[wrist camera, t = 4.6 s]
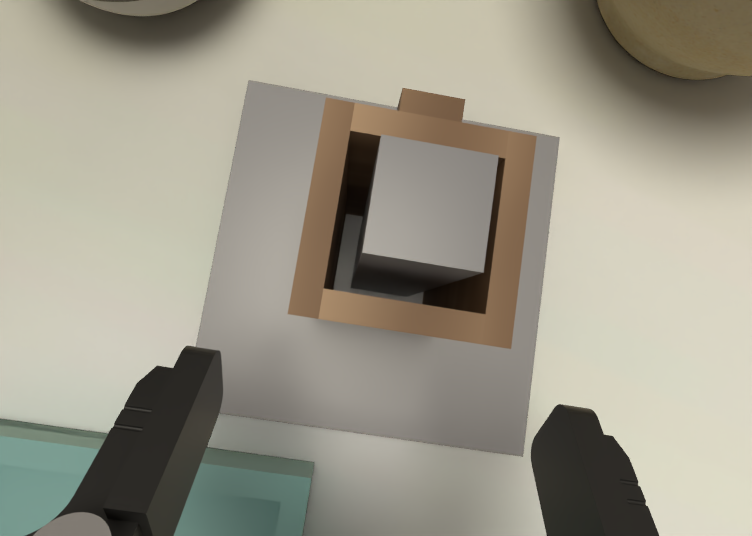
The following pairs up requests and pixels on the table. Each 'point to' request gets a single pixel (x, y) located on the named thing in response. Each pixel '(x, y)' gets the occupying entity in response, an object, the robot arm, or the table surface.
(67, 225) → the table surface
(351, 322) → the collar
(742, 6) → the planter bowl
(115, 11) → the black electric kettle
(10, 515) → the tray
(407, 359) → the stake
